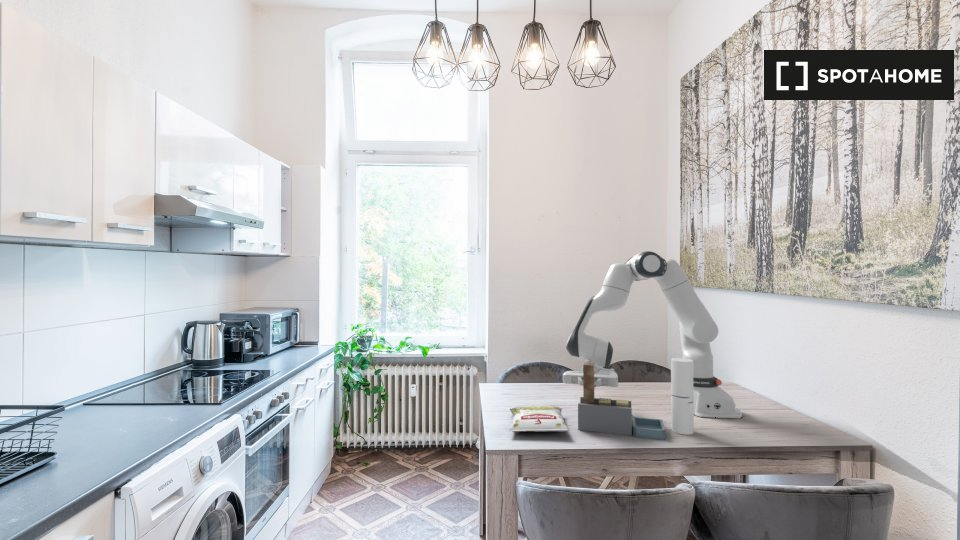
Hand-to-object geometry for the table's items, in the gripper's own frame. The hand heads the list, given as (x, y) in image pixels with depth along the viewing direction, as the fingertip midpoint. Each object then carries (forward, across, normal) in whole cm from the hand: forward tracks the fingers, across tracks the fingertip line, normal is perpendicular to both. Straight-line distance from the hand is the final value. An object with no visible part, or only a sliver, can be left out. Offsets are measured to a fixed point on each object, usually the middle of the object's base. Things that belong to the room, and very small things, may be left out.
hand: (588, 383), depth 161 cm
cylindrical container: (-6, +32, +16) cm, 36 cm away
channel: (-1, +6, +16) cm, 17 cm away
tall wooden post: (-1, 0, +9) cm, 9 cm away
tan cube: (-1, +6, +10) cm, 11 cm away
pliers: (-20, +9, +16) cm, 28 cm away
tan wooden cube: (-1, +12, +10) cm, 15 cm away
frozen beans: (+5, -18, +16) cm, 24 cm away
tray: (-1, +20, +16) cm, 25 cm away
